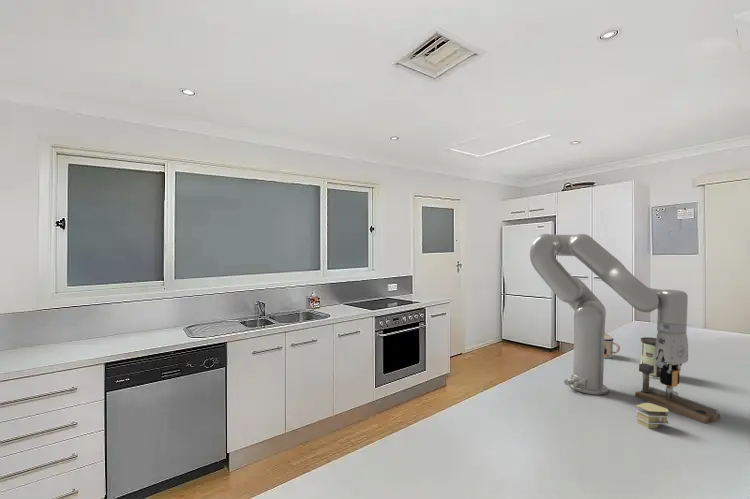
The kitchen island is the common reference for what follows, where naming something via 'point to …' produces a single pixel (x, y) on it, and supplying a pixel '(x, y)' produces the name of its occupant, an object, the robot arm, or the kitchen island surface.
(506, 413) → the kitchen island surface
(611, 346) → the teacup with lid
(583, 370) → the robot arm
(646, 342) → the coffee can
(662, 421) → the stacked layers on plate
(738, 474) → the kitchen island surface
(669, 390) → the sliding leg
